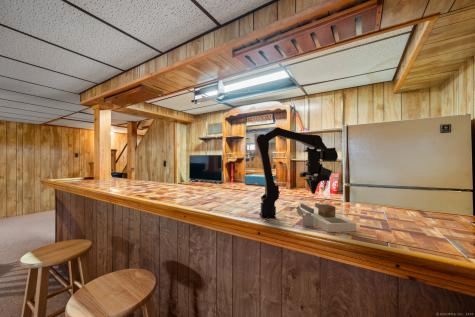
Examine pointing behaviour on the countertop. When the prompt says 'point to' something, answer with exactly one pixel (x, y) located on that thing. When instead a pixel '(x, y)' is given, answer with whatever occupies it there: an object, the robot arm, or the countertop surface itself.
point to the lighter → (305, 217)
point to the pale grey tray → (328, 220)
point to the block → (326, 210)
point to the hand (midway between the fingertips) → (313, 193)
